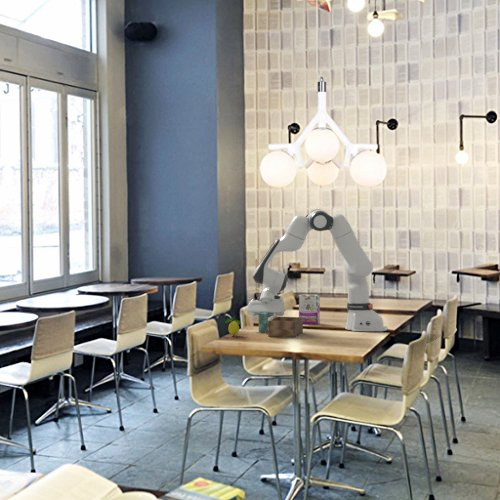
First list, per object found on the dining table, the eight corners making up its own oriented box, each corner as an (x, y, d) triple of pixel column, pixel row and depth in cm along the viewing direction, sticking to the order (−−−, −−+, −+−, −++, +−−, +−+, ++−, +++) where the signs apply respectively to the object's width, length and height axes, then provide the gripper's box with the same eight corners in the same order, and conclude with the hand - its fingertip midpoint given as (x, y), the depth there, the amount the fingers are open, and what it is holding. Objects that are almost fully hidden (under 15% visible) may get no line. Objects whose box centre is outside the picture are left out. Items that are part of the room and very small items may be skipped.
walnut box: (302, 332, 418) (302, 317, 417) (295, 337, 402) (295, 321, 401) (277, 331, 422) (276, 316, 422) (268, 336, 406) (268, 320, 405)
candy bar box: (320, 323, 451) (320, 294, 450) (317, 324, 447) (317, 295, 446) (301, 322, 455) (301, 294, 455) (298, 323, 451) (298, 294, 450)
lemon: (225, 336, 408) (224, 316, 408) (230, 334, 414) (230, 315, 413) (236, 337, 405) (236, 317, 405) (242, 335, 410) (241, 316, 410)
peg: (268, 331, 424) (267, 312, 423) (266, 332, 420) (265, 313, 420) (260, 331, 425) (260, 312, 425) (258, 332, 421) (258, 313, 421)
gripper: (248, 296, 431) (242, 316, 422) (284, 296, 425) (280, 317, 416) (250, 303, 436) (245, 323, 427) (287, 304, 430) (282, 324, 421)
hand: (263, 320), depth 422 cm, fingers open, 8 cm apart
